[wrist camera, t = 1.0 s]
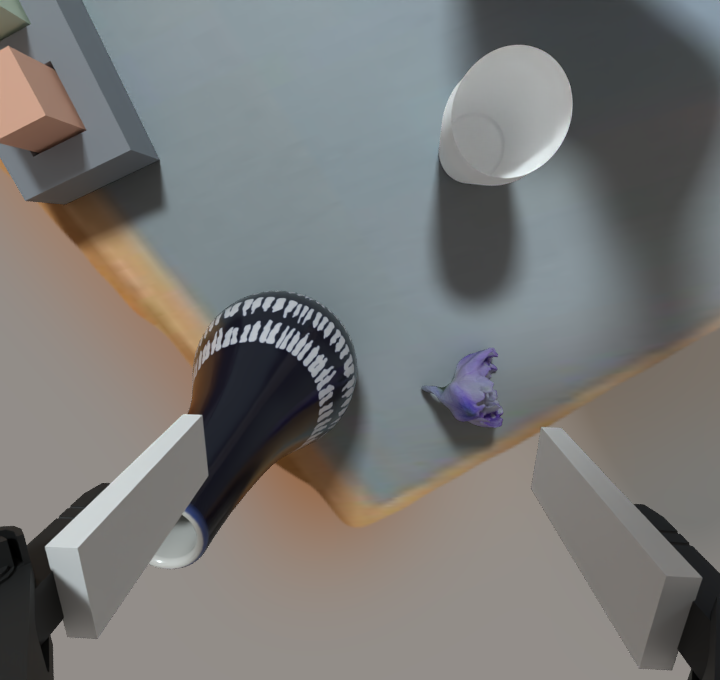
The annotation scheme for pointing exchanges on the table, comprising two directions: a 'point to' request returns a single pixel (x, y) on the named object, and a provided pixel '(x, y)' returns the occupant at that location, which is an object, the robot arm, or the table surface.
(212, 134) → the table surface
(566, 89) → the cup
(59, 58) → the panel
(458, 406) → the flower
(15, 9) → the button sage
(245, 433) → the vase
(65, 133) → the button terracotta
